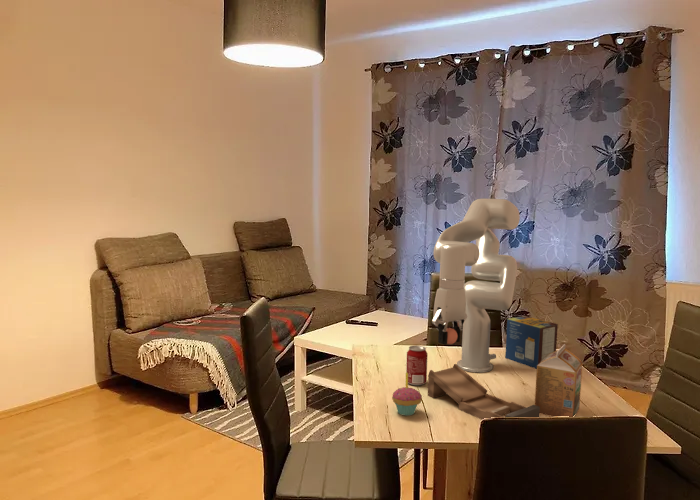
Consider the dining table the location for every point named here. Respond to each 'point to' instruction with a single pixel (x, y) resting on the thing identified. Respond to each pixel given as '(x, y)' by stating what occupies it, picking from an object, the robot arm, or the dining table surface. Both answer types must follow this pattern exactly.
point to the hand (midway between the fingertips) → (449, 341)
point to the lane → (474, 395)
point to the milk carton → (559, 383)
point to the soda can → (417, 365)
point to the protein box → (530, 340)
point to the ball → (451, 336)
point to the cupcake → (406, 399)
